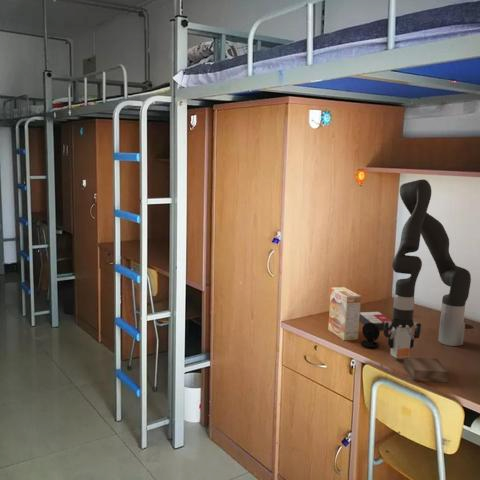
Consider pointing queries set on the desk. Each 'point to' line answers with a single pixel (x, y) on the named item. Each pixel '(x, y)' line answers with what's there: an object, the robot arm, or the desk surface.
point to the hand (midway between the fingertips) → (400, 347)
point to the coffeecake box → (344, 313)
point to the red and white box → (374, 319)
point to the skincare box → (401, 343)
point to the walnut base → (426, 369)
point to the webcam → (370, 335)
